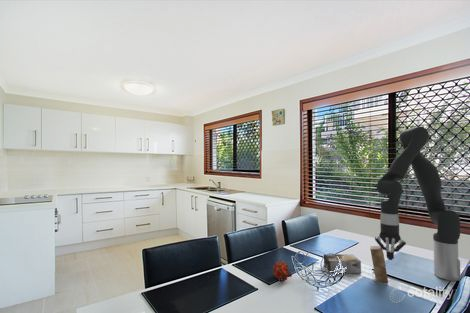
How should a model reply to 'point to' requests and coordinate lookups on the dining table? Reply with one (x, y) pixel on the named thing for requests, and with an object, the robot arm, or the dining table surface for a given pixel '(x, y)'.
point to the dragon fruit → (281, 270)
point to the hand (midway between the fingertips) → (390, 259)
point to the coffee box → (347, 260)
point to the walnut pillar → (379, 264)
